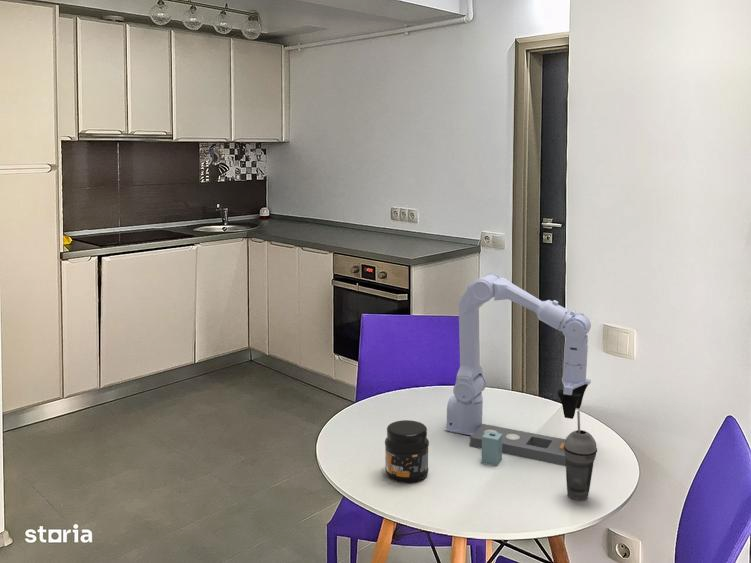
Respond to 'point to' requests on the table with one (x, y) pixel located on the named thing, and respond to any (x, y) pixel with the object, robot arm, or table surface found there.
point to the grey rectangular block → (491, 448)
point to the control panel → (524, 444)
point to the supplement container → (406, 451)
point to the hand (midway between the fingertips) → (572, 412)
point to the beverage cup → (579, 462)
